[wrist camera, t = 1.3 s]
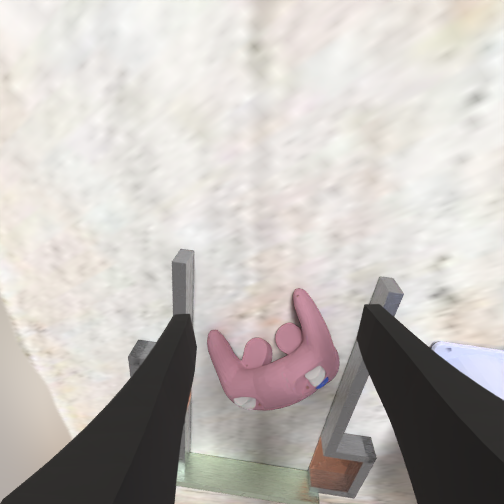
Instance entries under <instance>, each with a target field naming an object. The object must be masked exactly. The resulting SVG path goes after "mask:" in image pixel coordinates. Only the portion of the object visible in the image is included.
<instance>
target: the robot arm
mask: <svg viewBox="0 0 504 504" xmlns="http://www.w3.org/2000/svg"><path fill="white" fill-rule="evenodd" d="M357 342H358V345H359V349H360V352H361V355H362V358H363V361H364V364H365V366H366V368H367V371H368V373H369V375H370V377H371V379H372V382H373V384H374V386H375V388H376V391H377V393H378V395H379V397H380V399H381V402H382V404H383V406H384V408H385V410H386V413H387V415H388V417H389V419H390V422H391V424H392V427H393V429H394V432H395V435H396V438H397V441H398V444H399V447H400V450H401V452H402V455H403V458H404V461H405V465H406V468H407V471H408V474H409V477H410V480H411V483H412V486H413V490H414V493H415V496H416V500H417V503H418V504H504V350H498V349H491V348H484V347H477V346H470V345H463V344H456V343H449V342H436V343H435V344H434V345H433V347H432V349H431V348H429V347H428V346H427V345H426V344H425V343H423V342H422V341H421V340H420V339H419V338H417V337H416V336H415V335H414V334H413V333H412V332H410V331H409V330H408V329H407V328H406V327H405V326H404V325H403V324H401V323H400V322H399V321H398V320H397V319H396V318H395V317H394V316H393V315H391V314H390V313H389V312H388V311H387V310H386V309H385V308H384V307H382V306H381V305H380V304H366V305H364V309H363V313H362V318H361V322H360V326H359V330H358V335H357ZM446 348H447V349H446ZM196 351H197V346H196V341H195V336H194V331H193V326H192V321H191V316H190V314H175V315H174V316H173V317H172V319H171V320H170V322H169V324H168V325H167V327H166V329H165V330H164V332H163V333H162V335H161V336H160V338H159V339H158V341H157V342H156V344H155V345H154V347H153V348H152V350H151V351H150V352H149V354H148V355H147V357H146V358H145V360H144V361H143V362H142V364H141V365H140V366H139V367H138V369H137V370H136V371H135V373H134V374H133V375H132V377H131V378H130V379H129V380H128V382H127V383H126V384H125V385H124V386H123V388H122V389H121V390H120V391H119V392H118V393H117V395H116V396H115V397H114V398H113V399H112V400H111V401H110V402H109V404H108V405H107V406H106V407H105V408H104V409H103V410H102V411H101V412H100V413H99V414H98V415H97V416H96V417H95V418H94V419H93V420H92V421H91V422H90V423H89V424H88V425H87V426H86V427H85V428H84V429H83V430H82V431H81V432H80V433H79V434H78V435H77V436H76V437H75V438H74V439H73V440H72V441H71V442H69V443H68V444H67V445H66V446H65V447H64V448H63V449H62V450H61V451H60V452H59V453H58V454H56V455H55V456H54V457H53V458H52V459H51V460H50V461H49V462H48V463H46V464H45V465H44V466H43V467H42V468H40V469H39V470H38V471H37V472H36V473H34V474H33V475H32V476H31V477H30V478H28V479H27V480H26V481H25V482H24V483H22V484H21V485H20V486H19V487H17V488H16V489H15V490H14V491H13V492H11V493H10V494H9V495H8V496H6V497H5V498H4V499H3V500H2V502H1V503H0V504H174V502H175V492H176V482H177V472H178V463H179V455H180V446H181V438H182V432H183V426H184V421H185V417H186V412H187V407H188V402H189V397H190V392H191V387H192V382H193V377H194V372H195V362H196Z"/></svg>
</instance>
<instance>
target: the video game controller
mask: <svg viewBox="0 0 504 504" xmlns="http://www.w3.org/2000/svg"><path fill="white" fill-rule="evenodd" d="M293 301H294V307H295V310H296V313H297V315H298V318H299V321H300V324H301V327H302V329H301V328H299V327H298V326H296V325H294V324H293V323H286V324H284V325H282V326H281V327H280V328H279V329H278V331H277V333H276V338H275V339H276V343H277V346H278V347H279V349H280V350H281V351H283V352H284V353H286V354H288V355H287V356H285V357H283V358H281V359H279V360H277V361H274V362H272V363H271V360H272V348H271V346H270V344H269V343H268V342H267V341H265V340H263V339H261V338H253V339H251V340H250V341H249V342H248V343H247V344H246V346H245V350H244V355H243V358H242V360H240V359H239V358H238V357H237V356H236V355H235V354H234V352H233V350H232V348H231V347H230V345H229V343H228V342H227V340H226V339H225V338H224V336H223V335H222V334H221V333H220V332H218V330H212V331H210V332H209V334H208V338H207V346H208V352H209V354H210V357H211V360H212V362H213V365H214V367H215V370H216V372H217V375H218V377H219V380H220V382H221V385H222V387H223V390H224V392H225V394H226V395H227V396H228V398H229V399H230V400H231V401H232V402H233V403H235V404H236V405H238V406H239V407H242V408H244V409H248V410H274V409H280V408H284V407H287V406H290V405H292V404H295V403H297V402H299V401H301V400H303V399H305V398H306V397H308V396H310V395H311V394H313V393H314V392H315V391H316V390H318V389H319V388H321V387H323V386H324V385H325V384H326V383H328V382H330V381H331V380H332V379H333V378H334V377H335V376H336V374H337V372H338V369H339V356H338V352H337V350H336V348H335V347H334V345H333V342H332V339H331V336H330V333H329V330H328V328H327V325H326V323H325V321H324V319H323V317H322V315H321V314H320V312H319V310H318V308H317V306H316V305H315V303H314V301H313V300H312V299H311V297H310V296H309V295H308V293H307V292H306V291H305V290H303V289H300V288H298V289H295V291H294V294H293Z"/></svg>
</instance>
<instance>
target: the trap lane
mask: <svg viewBox="0 0 504 504" xmlns="http://www.w3.org/2000/svg"><path fill="white" fill-rule="evenodd" d="M193 269H194V251H192V250H185V249H180V251H179V252H178V254H177V255H176V257H175V258H174V259H173V261H172V287H173V316H174V315H175V314H190V316H191V321H193ZM403 295H404V293H403V292H402V290H401V289H400V287H399V286H398V284H397V283H396V281H395V280H394V278H387V277H380V278H379V280H378V283H377V286H376V288H375V291H374V294H373V297H372V299H371V302H370V304H380V305H381V306H382V307H384V308H385V309H386V310H387V311H388V312H389V313H390V314H391V315H393V316H395V314H396V311H397V309H398V307H399V304H400V302H401V300H402V297H403ZM155 344H156V342H150V341H143V340H138V341H137V343H136V344H135V346H134V348H133V349H132V351H131V353H130V354H129V356H128V360H129V368H130V376H131V377H132V375H133V374H134V373H135V371H136V370H137V369H138V367H139V366H140V365H141V364H142V362H143V361H144V360H145V358H146V357H147V355H148V354H149V352H150V351H151V350H152V348H153V347H154V345H155ZM368 376H369V373H368V371H367V368H366V366H365V364H364V361H363V358H362V355H361V352H360V349H359V345H358V342H357V340H356V342H355V345H354V348H353V350H352V353H351V356H350V358H349V361H348V364H347V367H346V369H345V372H344V375H343V377H342V380H341V383H340V385H339V388H338V391H337V393H336V396H335V399H334V402H333V404H332V407H331V410H330V412H329V415H328V418H327V420H326V423H325V426H324V428H323V431H322V434H321V437H320V439H319V442H318V445H317V447H316V450H315V453H314V455H313V458H312V461H311V463H310V466H309V469H308V471H304V470H298V469H291V468H285V467H279V466H272V465H266V464H260V463H253V462H247V461H240V460H234V459H228V458H221V457H215V456H208V455H202V454H196V453H190V425H191V392H190V397H189V402H188V407H187V412H186V417H185V421H184V426H183V432H182V438H181V446H180V455H179V463H178V472H177V482H176V486H181V487H187V488H193V489H200V490H206V491H212V492H218V493H225V494H231V495H237V496H243V497H250V498H256V499H262V500H268V501H275V502H281V503H287V504H319V495H318V493H323V494H329V495H335V496H341V497H348V498H355V496H356V495H357V493H358V491H359V489H360V487H361V486H362V484H363V482H364V480H365V478H366V477H367V475H368V473H369V471H370V469H371V468H372V466H373V464H374V462H375V460H376V459H377V458H376V454H375V451H374V447H373V443H372V440H371V437H365V436H358V435H352V434H345V433H344V432H345V430H346V427H347V425H348V423H349V420H350V418H351V416H352V413H353V411H354V409H355V406H356V404H357V402H358V399H359V397H360V395H361V392H362V390H363V388H364V385H365V383H366V381H367V379H368Z"/></svg>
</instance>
